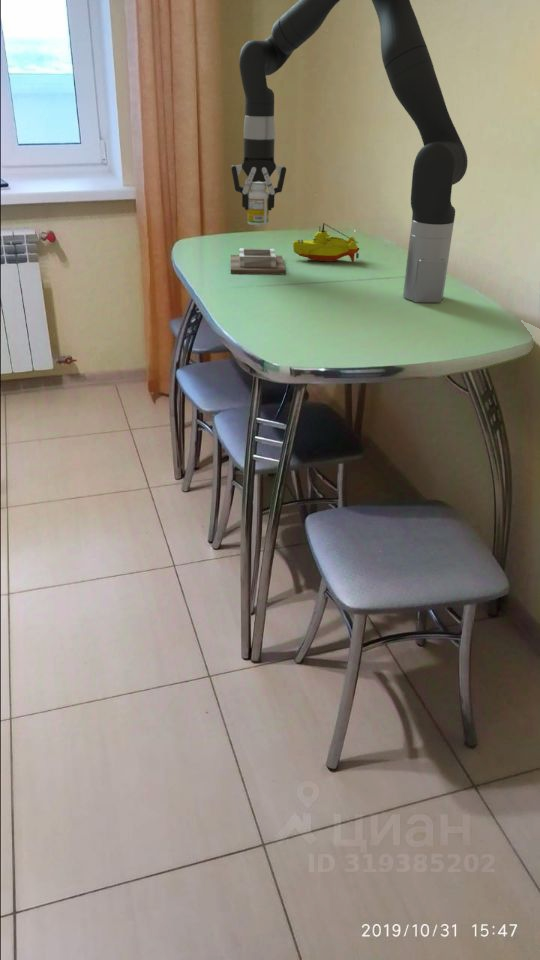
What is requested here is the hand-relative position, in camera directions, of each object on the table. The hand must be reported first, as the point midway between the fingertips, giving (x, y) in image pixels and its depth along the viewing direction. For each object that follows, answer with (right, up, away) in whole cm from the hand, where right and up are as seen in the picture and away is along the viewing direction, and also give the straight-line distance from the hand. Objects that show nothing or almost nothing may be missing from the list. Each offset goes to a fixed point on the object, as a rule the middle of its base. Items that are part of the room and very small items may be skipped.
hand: (258, 209), depth 183 cm
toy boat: (+18, -9, +14) cm, 25 cm away
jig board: (0, -12, +7) cm, 14 cm away
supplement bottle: (0, -3, +2) cm, 4 cm away
